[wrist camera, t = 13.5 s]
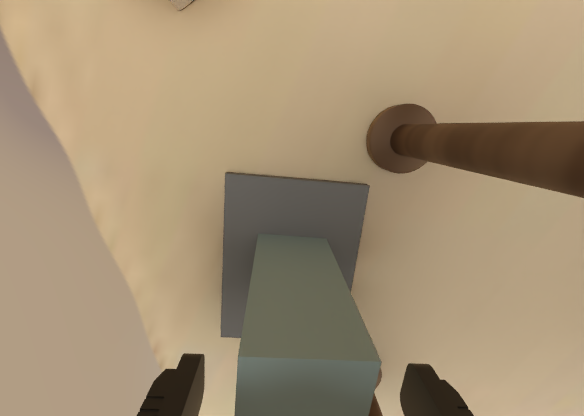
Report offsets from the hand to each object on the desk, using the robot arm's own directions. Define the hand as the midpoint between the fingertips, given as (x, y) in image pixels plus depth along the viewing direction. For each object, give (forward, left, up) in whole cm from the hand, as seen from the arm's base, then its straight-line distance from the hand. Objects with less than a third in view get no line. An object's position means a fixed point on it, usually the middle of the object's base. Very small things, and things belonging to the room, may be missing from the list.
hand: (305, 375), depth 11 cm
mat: (0, 0, -9) cm, 9 cm away
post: (-6, -9, -9) cm, 14 cm away
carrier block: (0, 0, -8) cm, 8 cm away
